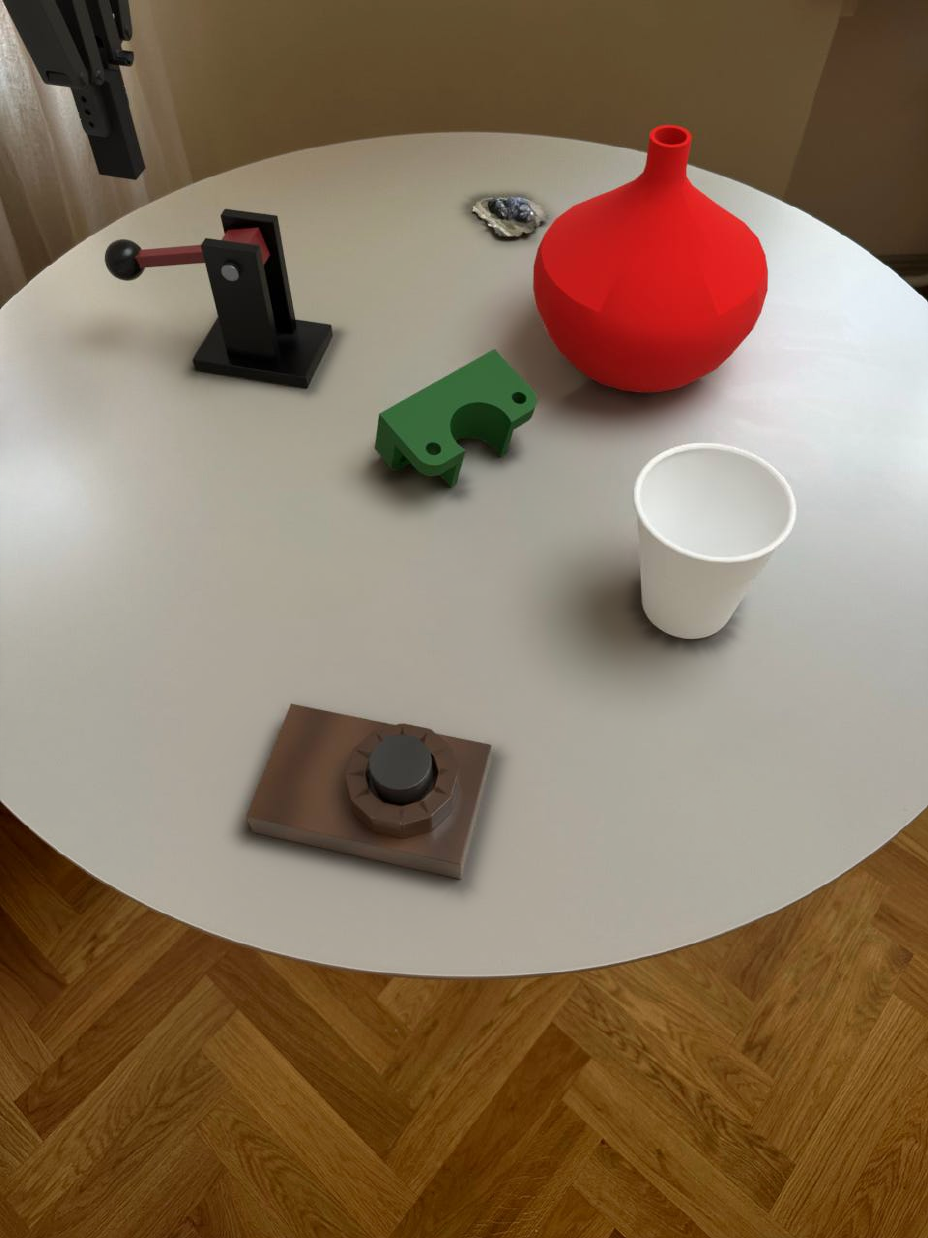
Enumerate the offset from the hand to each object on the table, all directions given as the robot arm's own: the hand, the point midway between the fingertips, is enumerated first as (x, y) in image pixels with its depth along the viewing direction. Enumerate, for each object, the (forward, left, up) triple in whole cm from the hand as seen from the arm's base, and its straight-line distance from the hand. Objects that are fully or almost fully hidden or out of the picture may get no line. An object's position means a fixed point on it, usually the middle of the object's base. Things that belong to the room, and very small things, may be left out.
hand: (122, 170), depth 70 cm
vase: (+35, +13, -20) cm, 43 cm away
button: (+27, -32, -16) cm, 45 cm away
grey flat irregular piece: (+20, +30, -20) cm, 42 cm away
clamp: (+23, -2, -20) cm, 31 cm away
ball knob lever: (-1, +6, -13) cm, 14 cm away
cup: (+42, -13, -20) cm, 48 cm away
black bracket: (+4, +6, -20) cm, 21 cm away
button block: (+25, -32, -20) cm, 45 cm away
